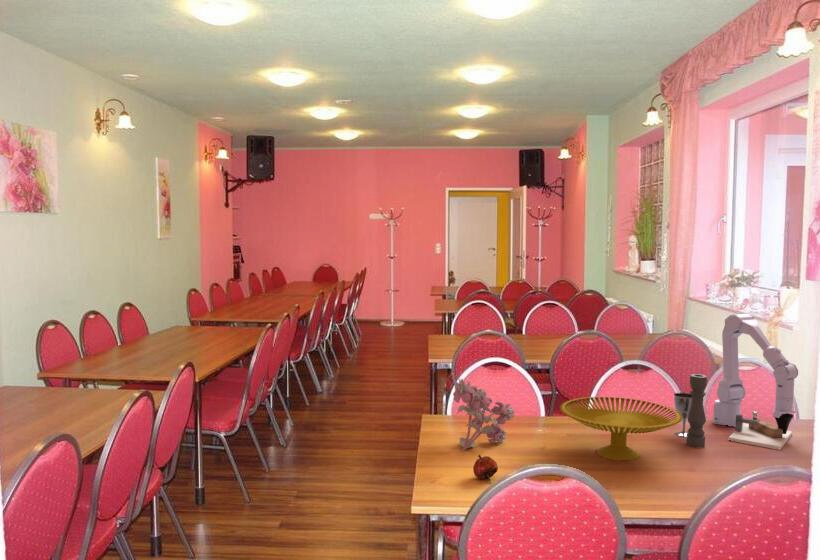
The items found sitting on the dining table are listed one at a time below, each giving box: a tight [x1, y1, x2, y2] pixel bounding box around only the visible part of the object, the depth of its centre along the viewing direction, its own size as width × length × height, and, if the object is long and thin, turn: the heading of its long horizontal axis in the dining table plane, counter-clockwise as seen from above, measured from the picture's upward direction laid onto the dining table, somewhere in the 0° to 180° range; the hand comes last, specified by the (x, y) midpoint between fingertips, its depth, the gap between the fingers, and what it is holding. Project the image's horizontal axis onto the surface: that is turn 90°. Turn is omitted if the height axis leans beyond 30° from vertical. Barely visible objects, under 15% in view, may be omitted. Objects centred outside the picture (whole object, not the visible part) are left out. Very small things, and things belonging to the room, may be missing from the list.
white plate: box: [728, 423, 793, 451], centre depth 263 cm, size 17×23×1 cm
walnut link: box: [748, 418, 783, 438], centre depth 265 cm, size 15×4×3 cm, turn 13°
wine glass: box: [673, 391, 692, 438], centre depth 265 cm, size 8×8×15 cm
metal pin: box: [751, 410, 760, 420], centre depth 270 cm, size 2×2×3 cm
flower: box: [452, 378, 517, 452], centre depth 249 cm, size 20×22×25 cm
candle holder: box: [685, 373, 708, 448], centre depth 252 cm, size 6×6×25 cm
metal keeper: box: [734, 413, 760, 432], centre depth 265 cm, size 8×2×6 cm, turn 53°
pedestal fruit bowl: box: [559, 396, 683, 461], centre depth 242 cm, size 40×40×15 cm
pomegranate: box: [472, 454, 499, 484], centre depth 217 cm, size 7×7×10 cm
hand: (782, 433), depth 260 cm, fingers closed
